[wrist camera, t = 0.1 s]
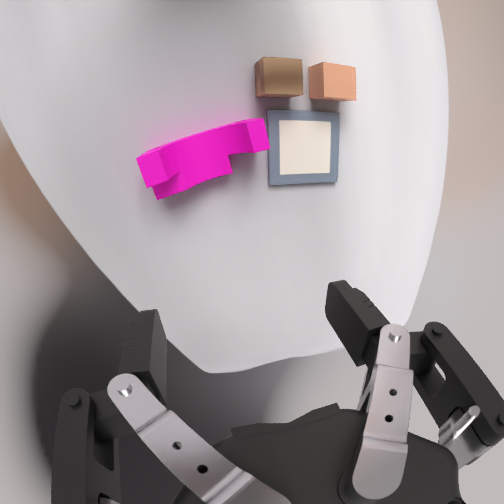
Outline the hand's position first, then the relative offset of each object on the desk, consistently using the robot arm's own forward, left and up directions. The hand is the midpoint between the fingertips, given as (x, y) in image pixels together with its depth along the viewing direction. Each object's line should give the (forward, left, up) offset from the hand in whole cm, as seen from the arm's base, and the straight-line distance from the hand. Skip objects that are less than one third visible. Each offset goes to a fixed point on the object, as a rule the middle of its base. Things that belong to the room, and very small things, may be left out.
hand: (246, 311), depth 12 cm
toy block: (-3, 0, -30) cm, 30 cm away
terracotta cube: (-14, +18, -29) cm, 37 cm away
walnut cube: (-14, +10, -29) cm, 34 cm away
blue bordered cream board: (-4, +14, -29) cm, 33 cm away
